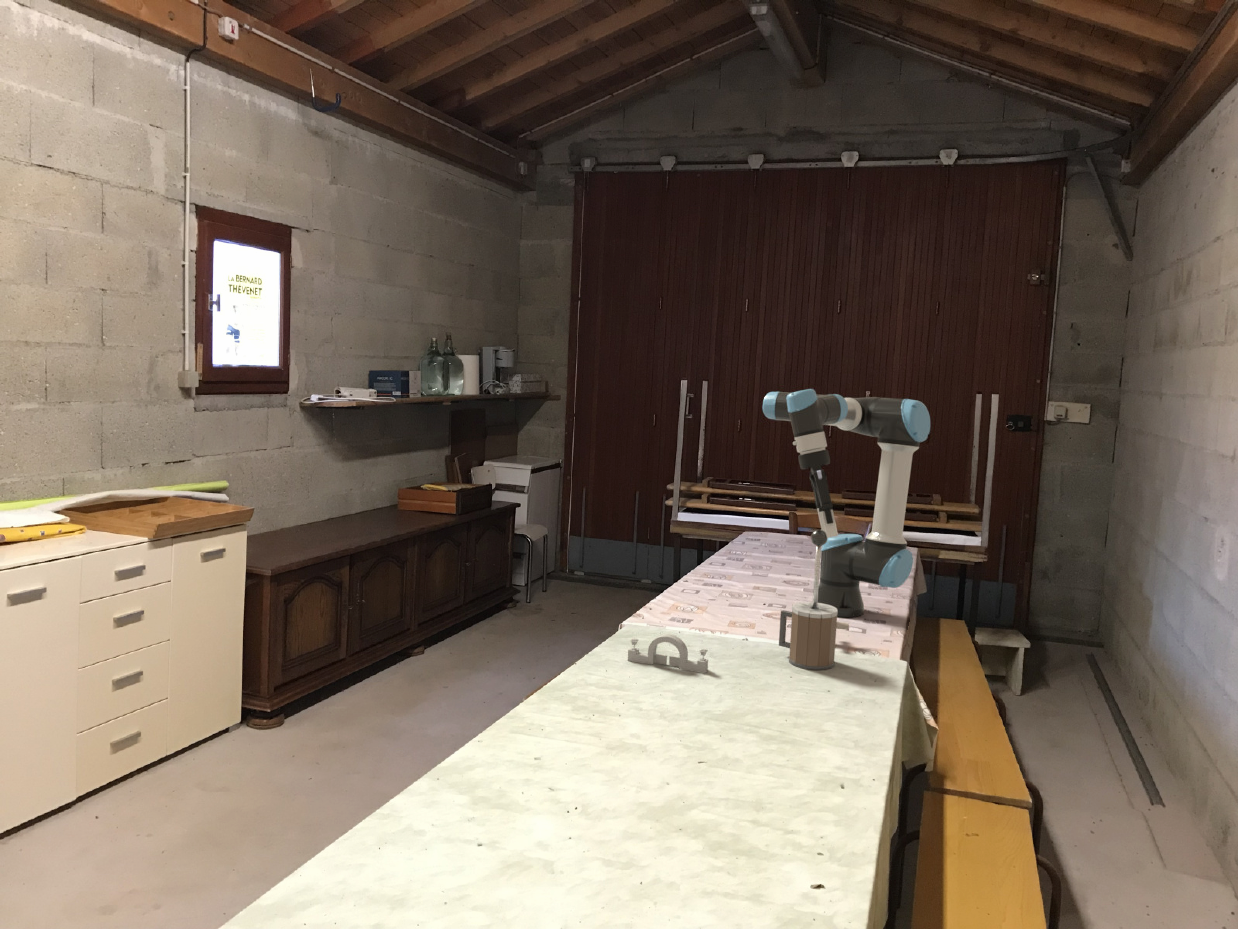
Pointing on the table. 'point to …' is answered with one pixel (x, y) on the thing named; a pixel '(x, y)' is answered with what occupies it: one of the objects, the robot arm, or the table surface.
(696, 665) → the gateway
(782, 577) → the table surface
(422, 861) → the table surface
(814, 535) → the plunger
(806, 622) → the wooden mug
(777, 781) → the table surface
